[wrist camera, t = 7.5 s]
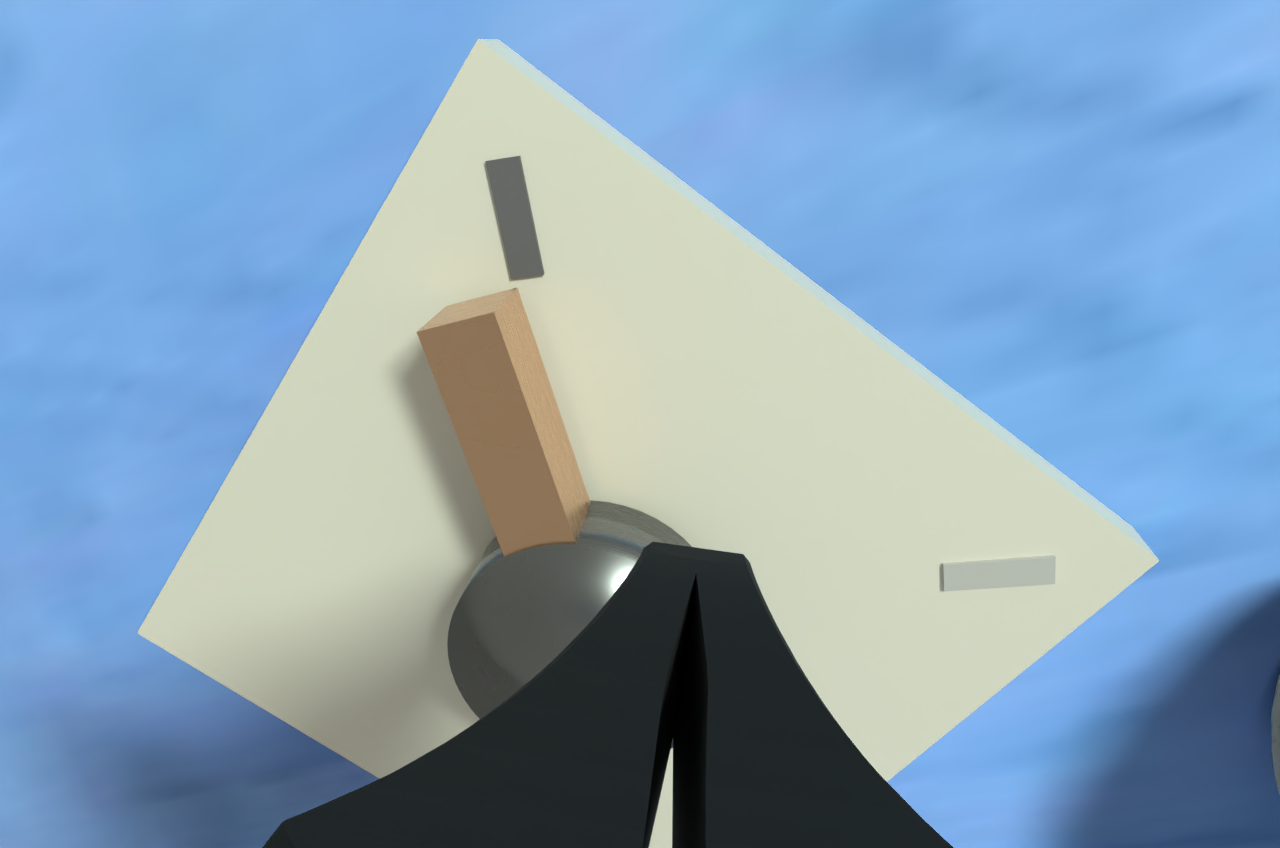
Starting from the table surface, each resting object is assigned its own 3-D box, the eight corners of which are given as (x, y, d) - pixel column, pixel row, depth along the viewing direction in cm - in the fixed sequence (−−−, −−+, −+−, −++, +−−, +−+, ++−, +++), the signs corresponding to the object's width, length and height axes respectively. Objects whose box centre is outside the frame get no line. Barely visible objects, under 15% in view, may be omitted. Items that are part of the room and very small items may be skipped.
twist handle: (745, 690, 21) (745, 750, 20) (519, 723, 23) (499, 782, 21) (620, 259, 17) (605, 284, 16) (354, 329, 19) (312, 359, 17)
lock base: (676, 909, 27) (672, 958, 26) (170, 600, 25) (134, 635, 23) (1131, 526, 21) (1161, 563, 19) (498, 39, 18) (476, 38, 16)
